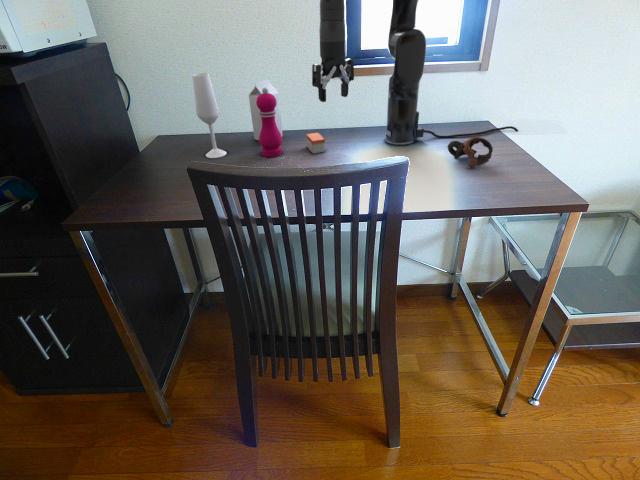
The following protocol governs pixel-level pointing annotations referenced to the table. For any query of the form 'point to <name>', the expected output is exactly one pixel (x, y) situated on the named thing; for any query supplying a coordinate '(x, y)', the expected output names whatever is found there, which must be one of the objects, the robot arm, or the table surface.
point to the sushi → (315, 142)
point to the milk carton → (255, 110)
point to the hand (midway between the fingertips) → (333, 98)
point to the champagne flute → (207, 107)
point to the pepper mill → (269, 125)
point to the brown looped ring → (470, 150)
